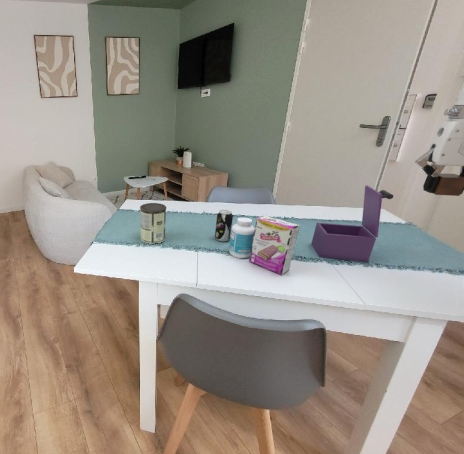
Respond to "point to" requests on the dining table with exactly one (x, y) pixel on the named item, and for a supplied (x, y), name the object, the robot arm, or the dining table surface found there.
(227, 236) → the beverage can
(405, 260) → the dining table surface
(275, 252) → the candy bar box
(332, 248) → the box
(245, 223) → the pill bottle
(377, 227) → the lid
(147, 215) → the coffee can
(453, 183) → the block
